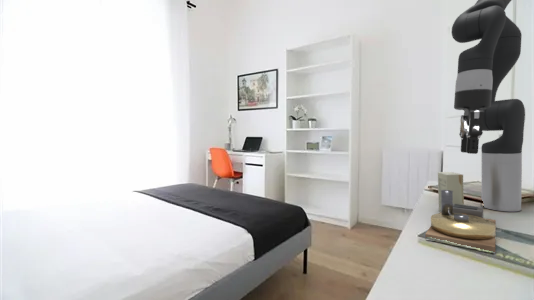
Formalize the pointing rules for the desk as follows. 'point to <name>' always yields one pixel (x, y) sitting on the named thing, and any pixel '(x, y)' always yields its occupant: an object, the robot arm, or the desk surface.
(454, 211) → the tan piece
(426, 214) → the desk surface
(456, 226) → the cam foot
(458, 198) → the skincare box
